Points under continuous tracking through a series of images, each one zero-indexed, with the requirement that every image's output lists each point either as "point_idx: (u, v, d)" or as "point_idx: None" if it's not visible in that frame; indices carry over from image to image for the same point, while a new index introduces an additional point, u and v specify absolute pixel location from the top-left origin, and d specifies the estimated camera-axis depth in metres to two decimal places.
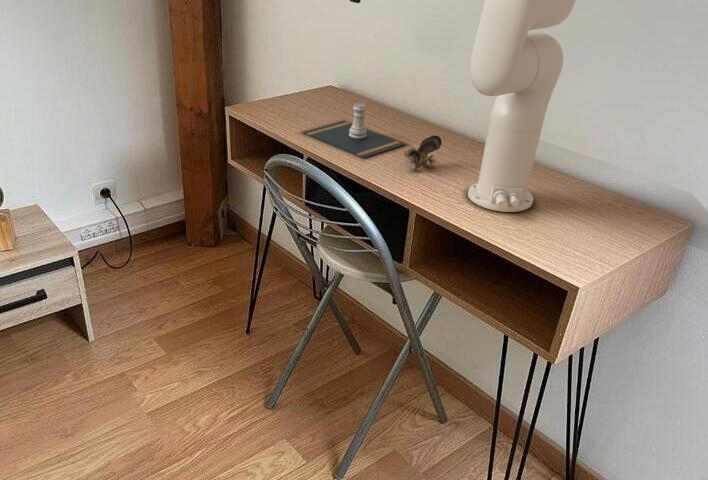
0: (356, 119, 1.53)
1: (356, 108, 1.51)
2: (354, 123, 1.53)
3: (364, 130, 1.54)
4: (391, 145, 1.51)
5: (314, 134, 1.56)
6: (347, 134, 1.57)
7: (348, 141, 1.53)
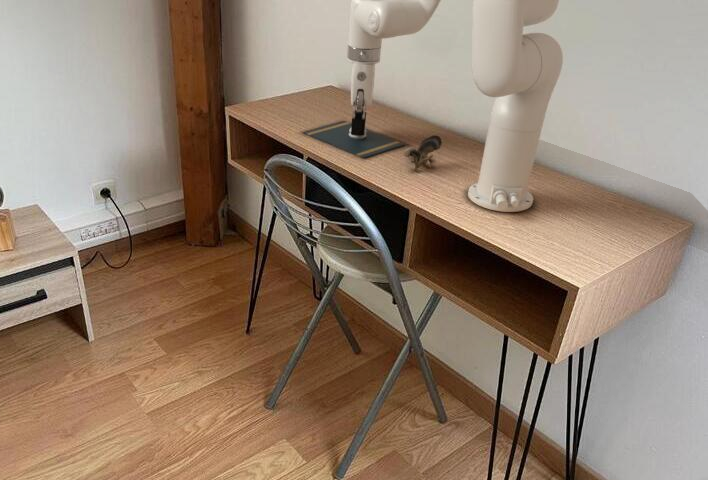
0: None
1: (356, 108, 1.51)
2: None
3: None
4: (391, 145, 1.51)
5: (314, 134, 1.56)
6: (347, 134, 1.57)
7: (348, 141, 1.53)
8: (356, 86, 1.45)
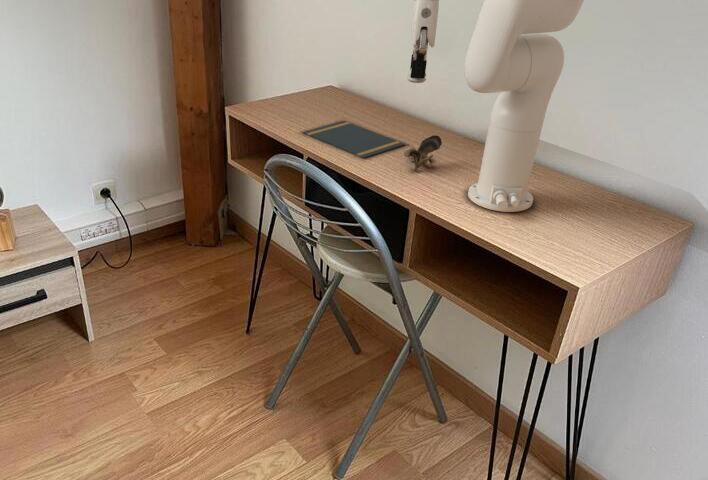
0: None
1: (417, 49, 1.45)
2: None
3: None
4: (391, 145, 1.51)
5: (314, 134, 1.56)
6: (347, 134, 1.57)
7: (348, 141, 1.53)
8: (420, 23, 1.39)
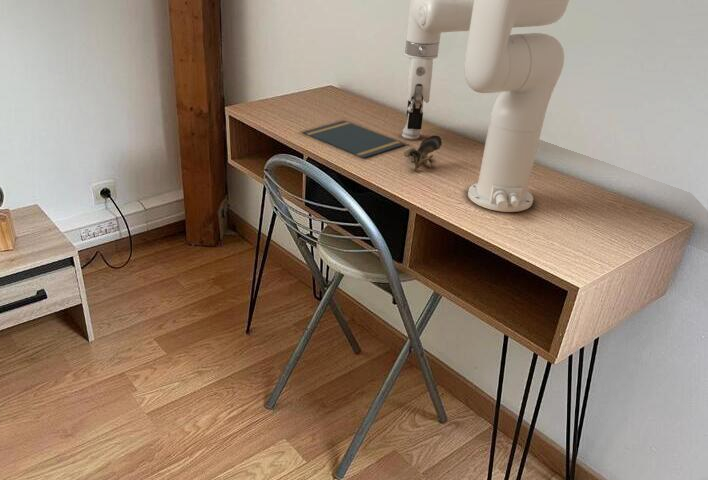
0: None
1: None
2: None
3: (418, 131, 1.55)
4: (391, 145, 1.51)
5: (314, 134, 1.56)
6: (347, 134, 1.57)
7: (348, 141, 1.53)
8: (415, 81, 1.45)
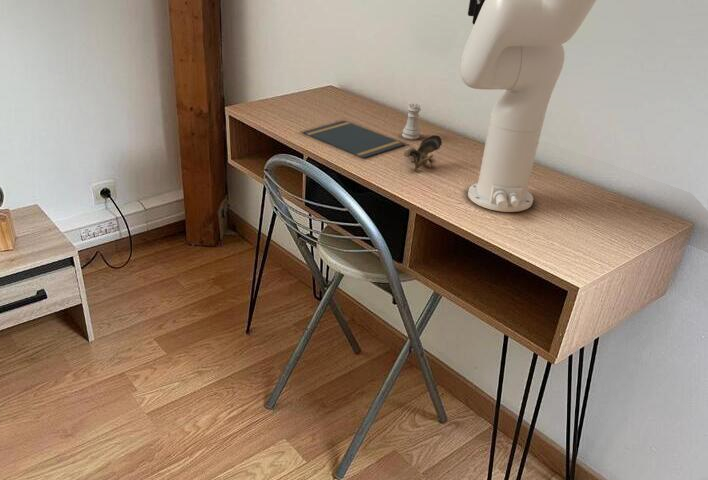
0: (410, 120, 1.54)
1: (411, 109, 1.52)
2: (408, 124, 1.55)
3: (418, 131, 1.55)
4: (391, 145, 1.51)
5: (314, 134, 1.56)
6: (347, 134, 1.57)
7: (348, 141, 1.53)
8: None
